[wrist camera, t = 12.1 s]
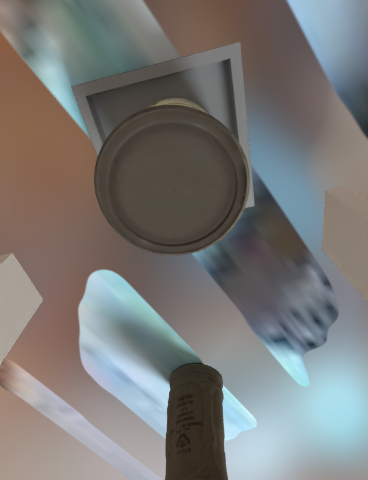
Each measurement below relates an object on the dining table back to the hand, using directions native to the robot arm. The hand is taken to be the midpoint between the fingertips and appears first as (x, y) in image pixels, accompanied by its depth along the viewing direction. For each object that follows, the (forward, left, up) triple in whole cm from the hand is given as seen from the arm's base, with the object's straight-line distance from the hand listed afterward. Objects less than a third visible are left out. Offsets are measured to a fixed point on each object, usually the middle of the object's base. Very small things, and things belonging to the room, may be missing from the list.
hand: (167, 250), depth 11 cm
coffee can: (0, 0, -21) cm, 21 cm away
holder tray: (0, 0, -22) cm, 22 cm away
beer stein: (-32, +34, -22) cm, 52 cm away
